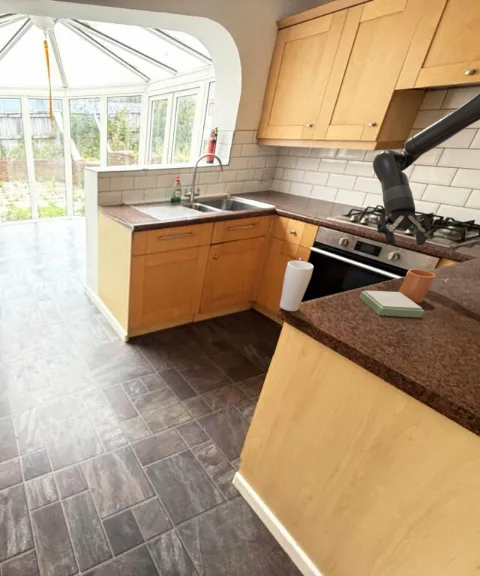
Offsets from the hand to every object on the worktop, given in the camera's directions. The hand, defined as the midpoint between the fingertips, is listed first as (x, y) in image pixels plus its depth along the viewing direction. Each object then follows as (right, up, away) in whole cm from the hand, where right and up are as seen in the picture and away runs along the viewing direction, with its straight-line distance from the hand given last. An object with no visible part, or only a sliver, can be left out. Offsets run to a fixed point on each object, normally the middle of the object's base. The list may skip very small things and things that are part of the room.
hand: (406, 243), depth 107 cm
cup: (-1, -18, -2) cm, 18 cm away
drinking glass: (-43, -21, -5) cm, 48 cm away
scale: (-12, -21, -7) cm, 25 cm away
